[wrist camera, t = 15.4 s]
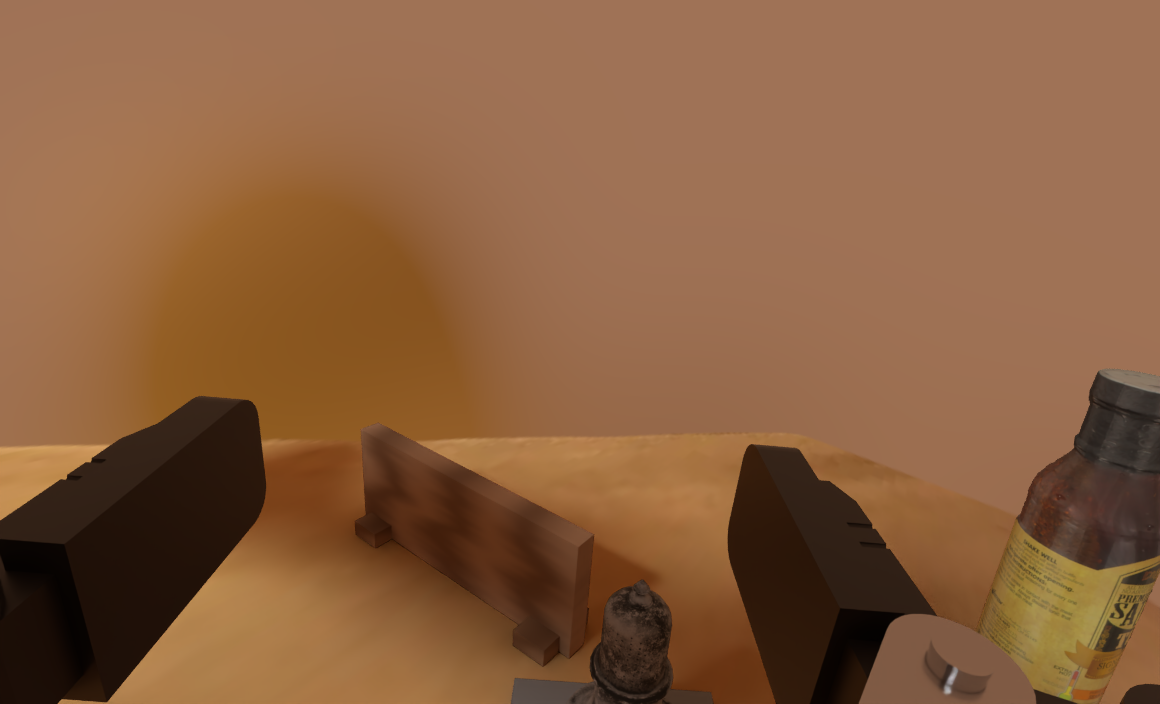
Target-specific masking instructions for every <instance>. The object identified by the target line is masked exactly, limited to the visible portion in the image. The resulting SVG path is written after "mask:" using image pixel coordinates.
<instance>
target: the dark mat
mask: <svg viewBox="0 0 1160 704" xmlns="http://www.w3.org/2000/svg"><path fill="white" fill-rule="evenodd" d="M586 684H588V683H576V682H562V681H548V680H534V679H520V678H515V680H514V686H513V693H512V700H511V704H565V703H566V702H567V701H568V699H569V698H570V697H571V696H572V695H573V694H574V693H575V691H577V690H578V689H580V688H581V687H583V686H584V685H586ZM665 698H666V699H667V700H668V701H669V702H670V703H671V704H713V699H712V694H711V692H702V691H688V690H674V689H670V690H669V692H668V693H667V695H666V696H665Z"/></svg>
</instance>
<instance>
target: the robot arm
mask: <svg viewBox="0 0 1160 704" xmlns="http://www.w3.org/2000/svg"><path fill="white" fill-rule="evenodd" d="M265 494H266V479H265V470H264V461H263V453H262V444H261V435H260V427H259V418H258V412H257V409H256V407H255V405H254V404H253V403H252V402H251V401H249V400H241V399H230V398H217V397H206V396H199V397H195V398H194V399H192V400H191V401H189V402H188V403H186V404H185V405H183V406H182V407H181V408H179V409H178V410H176V411H175V412H174V413H172V414H171V415H169V416H168V417H167V418H165V419H164V420H162V421H161V422H159V423H158V424H156V425H153V426H150V427H148V428H145V429H143V430H141V431H138V432H136V433H134V434H131V435H129V436H126V437H123V438H121V439H119V440H118V441H116V442H115V443H113V444H112V445H110V446H109V447H108V448H106V449H105V450H103V451H102V452H100V453H99V454H97V455H96V456H94V457H93V458H92V461H91V463H88V462H86V463H84V464H83V465H81V466H80V467H78V468H77V469H75V470H74V471H72V472H71V473H69V474H68V475H67V479H66V480H62V479H61V480H59V481H58V482H56V483H55V484H53V485H52V486H50V487H49V488H47V489H46V490H44V491H43V492H42V493H40V494H39V495H37V496H36V497H34V498H33V499H31V500H30V501H28V502H27V503H25V504H24V505H22V506H21V507H20V508H18V509H17V510H15V511H14V512H12V513H11V514H9V515H8V516H6V517H5V518H3V519H2V520H0V704H58V702H59V701H60V700H61V699H68V700H82V701H96V702H107V701H108V700H109V699H110V698H111V697H112V695H113V694H114V693H115V692H116V691H117V689H118V688H119V687H120V686H121V685H122V683H123V682H124V681H125V680H126V678H127V677H128V676H129V675H130V674H131V672H132V671H133V670H134V669H135V668H136V666H137V665H138V664H139V663H140V661H141V660H142V659H143V658H144V657H145V655H146V654H147V653H148V652H149V651H150V649H151V648H152V647H153V646H154V644H155V643H156V642H157V641H158V640H159V638H160V637H161V636H162V635H163V634H164V632H165V631H166V630H167V629H168V628H169V626H170V625H171V624H172V623H173V621H174V620H175V619H176V618H177V617H178V615H179V614H180V613H181V612H182V611H183V609H184V608H185V607H186V606H187V604H188V603H189V602H190V601H191V600H192V598H193V597H194V596H195V595H196V594H197V592H198V591H199V590H200V589H201V588H202V586H203V585H204V584H205V583H206V581H207V580H208V579H209V578H210V577H211V575H212V574H213V573H214V572H215V571H216V569H217V568H218V567H219V566H220V564H221V563H222V562H223V561H224V560H225V558H226V557H227V556H228V555H229V554H230V552H231V551H232V550H233V549H234V547H235V546H236V545H237V544H238V543H239V541H240V540H241V539H242V538H243V537H244V535H245V534H246V533H247V532H248V531H249V529H250V528H251V527H252V526H253V524H254V523H255V522H256V520H257V518H258V517H259V515H260V512H261V510H262V507H263V504H264V500H265ZM728 553H729V559H730V563H731V567H732V570H733V573H734V576H735V579H736V582H737V585H738V588H739V591H740V594H741V597H742V600H743V603H744V606H745V609H746V613H747V616H748V619H749V622H750V625H751V628H752V631H753V634H754V637H755V640H756V643H757V646H758V649H759V652H760V656H761V659H762V662H763V665H764V668H765V671H766V674H767V677H768V680H769V683H770V686H771V689H772V692H773V695H774V698H775V702H776V704H1078V703H1075V702H1072V701H1069V700H1066V699H1063V698H1060V697H1056V696H1053V695H1050V694H1047V693H1044V692H1041V691H1038V690H1035V689H1033V687H1032V685H1031V683H1030V681H1029V680H1028V678H1027V676H1026V675H1025V674H1024V672H1023V671H1022V670H1021V668H1020V667H1019V666H1018V665H1017V664H1016V663H1015V662H1014V660H1013V659H1012V658H1011V657H1010V656H1009V655H1007V654H1006V653H1005V652H1004V651H1003V650H1002V649H1001V648H999V647H998V646H997V645H995V644H994V643H993V642H991V641H990V640H988V639H987V638H985V637H984V636H982V635H980V634H979V633H977V632H975V631H973V630H971V629H969V628H968V627H966V626H963V625H961V624H959V623H956V622H954V621H951V620H948V619H945V618H942V617H938V616H937V615H936V614H935V612H934V611H933V609H932V608H931V607H930V605H929V604H928V602H927V601H926V599H925V598H924V597H923V595H922V594H921V592H920V591H919V590H918V588H917V587H916V585H915V584H914V583H913V581H912V580H911V578H910V577H909V575H908V574H907V573H906V571H905V570H904V568H903V567H902V566H901V564H900V563H899V561H898V560H897V559H896V557H895V556H894V554H893V553H892V551H891V550H890V549H886V543H885V542H884V540H883V539H882V537H881V536H880V535H879V533H878V532H877V530H876V529H872V523H871V522H870V520H869V519H868V518H867V516H866V515H865V513H864V512H863V511H862V509H861V508H860V506H859V505H858V504H857V502H856V501H855V500H853V499H852V498H851V497H850V496H848V495H847V494H846V493H844V492H843V491H842V490H840V489H839V488H838V487H836V486H835V485H834V484H833V483H831V482H830V481H821V480H819V479H818V478H817V476H816V475H815V473H814V472H813V470H812V469H811V467H810V465H809V464H808V462H807V461H806V459H805V458H804V456H803V455H802V453H801V452H800V450H798V449H797V448H789V447H778V446H766V445H754V444H751V445H749V446H748V448H747V449H746V451H745V454H744V457H743V461H742V466H741V471H740V475H739V480H738V484H737V489H736V493H735V498H734V503H733V507H732V512H731V516H730V521H729V527H728ZM1120 704H1160V685H1155V684H1143V685H1137V686H1134V687H1132V688H1130V689H1129V690H1128V691H1127V692H1126V694H1125V695H1124V697H1123V699H1122V700H1121V702H1120Z"/></svg>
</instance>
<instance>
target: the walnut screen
mask: <svg viewBox="0 0 1160 704" xmlns="http://www.w3.org/2000/svg"><path fill="white" fill-rule="evenodd" d="M361 442H362V459H363V477H364V494H365V512H366V516H364V517H362V518H360V519H358V520H356V521H355V531H356V535H357V536H359V537H360V538H362V539H363V540H364V541H366V542H367V543H369V544H370V545H371V546H373V547H374V548H377V547H378V546H380V545H382V544H384V543H385V542H387V541H389V540H391V539H393V540H394V541H396V542H397V543H399V544H400V545H402V546H403V547H405V548H406V549H408V550H409V551H411V552H412V553H414V554H415V555H416V556H418V557H419V558H421V559H422V560H424V561H425V562H427V563H428V564H430V565H431V566H433V567H434V568H436V569H437V570H439V571H440V572H442V573H443V574H445V575H446V576H448V577H449V578H451V579H452V580H453V581H455V582H456V583H458V584H459V585H461V586H462V587H464V588H465V589H467V590H468V591H470V592H471V593H473V594H474V595H476V596H477V597H479V598H480V599H482V600H483V601H485V602H486V603H488V604H489V605H490V606H492V607H493V608H495V609H496V610H498V611H499V612H501V613H502V614H504V615H505V616H507V617H508V618H510V619H511V620H513V621H514V622H516V623H517V624H519V625H518V626H517V627H516V628H515V629H514V630H513V646H514V647H516V648H517V649H519V650H520V651H522V652H523V653H524V654H526V655H527V656H529V657H530V658H531V659H533V660H534V661H536V662H537V663H539V664H540V665H541V666H544V665H545V664H546V663H547V662H548V661H549V660H550V659H551V658H552V657H553V656H554V655H555V654H556V653H557V652H558V651H559V652H560V653H562V654H563V655H564V656H566V657H567V658H570V657H571V656H572V655H573V654H574V653H575V652H576V651H577V650H578V649H579V648H580V647H581V646H582V645H583V644H584V637H585V626H586V624H587V621H588V610H589V608H587V605H588V594H589V584H590V573H591V562H592V552H593V541H594V534H592V533H590V532H588V531H587V530H585V529H583V528H581V527H579V526H577V525H575V524H573V523H571V522H569V521H567V520H565V519H563V518H561V517H559V516H558V515H556V514H554V513H552V512H550V511H548V510H546V509H544V508H542V507H540V506H538V505H536V504H534V503H532V502H531V501H529V500H527V499H525V498H523V497H521V496H519V495H517V494H515V493H513V492H511V491H509V490H507V489H505V488H503V487H502V486H500V485H498V484H496V483H494V482H492V481H490V480H488V479H486V478H484V477H482V476H480V475H478V474H476V473H474V472H473V471H471V470H469V469H467V468H465V467H463V466H461V465H459V464H457V463H455V462H453V461H451V460H449V459H447V458H446V457H444V456H442V455H440V454H438V453H436V452H434V451H432V450H430V449H428V448H426V447H424V446H422V445H420V444H418V443H417V442H415V441H413V440H411V439H409V438H407V437H405V436H403V435H401V434H399V433H397V432H395V431H393V430H391V429H389V428H388V427H386V426H384V425H382V424H380V423H376V424H374V425H371V426H368V427H365V428H363V429H361Z"/></svg>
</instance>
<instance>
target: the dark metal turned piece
mask: <svg viewBox="0 0 1160 704" xmlns="http://www.w3.org/2000/svg"><path fill="white" fill-rule="evenodd" d="M671 628H672V619H671V612H670V610H669V607H668V606H667V604H666V603H665V602H664V600H663V599H662V598H661V597H660V596H659V595H658V594H656V593H655V592H653V591H651V590H650V588H649V586H648V585H647V583H646V582H645V581H644V580H640V581H638V582H637V583H636V584H634V586H629V587H625V588H622V589H620V590H618V591H617V592H615V593H614V594H613V595H612V596H611V597H610V598H609V599H608V602H607V604H606V606H605V609H604V618H603V628H602V637H601V642H600V643H599V644H598V645H597V646H596V648H595V649H594V650H593V653H592V655H591V657H590V672H591V676H592V678H593V680H594V681H593V682H590V683H588V684H586V685H584V686H583V687H581V688H580V689H578V690H577V691H575V693H574V694H573V695H572V696H571V697H570V698H569V699H568V701H567V702H566V703H565V704H671V703H670V702H669V701H668V700H667V699H666V698H665V696H666V695H667V693H668V692H669V690H670V689H671V685H672V681H673V669H672V666H671V664H670V661H669V659H668V658H667V654H668V648H669V641H670V635H671Z"/></svg>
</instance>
